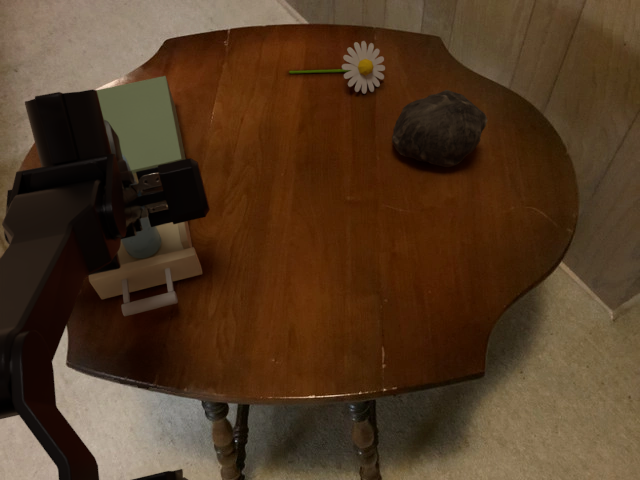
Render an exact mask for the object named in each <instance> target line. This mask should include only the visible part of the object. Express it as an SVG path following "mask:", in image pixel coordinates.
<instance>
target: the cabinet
mask: <svg viewBox="0 0 640 480" xmlns="http://www.w3.org/2000/svg"><path fill="white" fill-rule="evenodd" d="M95 90H96V91H97V94H98V98H99V102H100V106H101V110H102V114H103V118H104V120H106V121H108V122H109V124H110V125H111V127H112V128H113V130H114V131H115V132H116V134H117V135H118V137H119V141H120V148H121V152H122V154H123V155H124V156H125V157H126V159H127V162H128V164H129V166H130V168H131V171H132V173H133V174H134V173H136V172H137V171H142V170H146V169H150V168H155V167H158V165H162V164H167V163H171V162H176V161H180V160H184V159H187V158H186V153H185V148H184V144H183V139H182V133H181V129H180V122H179V118H178V114H177V108H176V105H175V101H174V98H173V95H172V91H171V88H170V84H169V82H168V79H167V76H166V75H163V76H157V77H152V78H147V79H143V80H140V81H134V82H129V83H124V84H120V85H115V86H110V87H105V88H101V89H95Z"/></svg>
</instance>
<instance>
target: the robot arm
mask: <svg viewBox="0 0 640 480" xmlns="http://www.w3.org/2000/svg"><path fill="white" fill-rule="evenodd" d="M96 90H97V89H87V90H82V91H72V92H61V91H57V92H52V93H46V94H40V95H35V96H34V98H33V99H30V100H25V101H24V107H25V109H26V110H25V111H26V113H27V117H28V121H29V125H30V129H31V132H32V137H33V140H34V144H35V148H36V151H37V152H36V153H37V155H38V159H39V160H38V161H39V163H40V166H39V167H34V168H28V169H23V170H17V171H16V172H15V175H14V180H13V185H12V189H8V190H7V194H6V206H5V216H4V218H3V219H2V223H1V226H2V228H3V235H4V239H5V241H6V244H8V246H7V248H6V250H5V251H4V253H3V254H2V255H1V256H0V420H4V419H9V418H14V417H17V416H19V417H20V419H21V420H22V421H23V422H24V424H25V425H26V426H27V428H28V429H29V431H30V432H31V433H32V435H33V437H34V438H35V439H36V440H37V442H38V443H39V445H40V446H41V447H42V448H43V450H44V451H45V453H46V454H47V456H48V457H49V458H50V459H51V461H52V462H53V464H54V465H55V466H56V468H57V474H58V475H57V476H58V480H100V472H99V465H98V463H97V459H96V457H95V456H94V455H93V453H92V452H91V450H90V449H89V447H88V446H87V445H86V444H85V442H84V441H83V440H82V439H81V437H80V436H79V435H78V433H77V432H76V430H75V429H74V428H73V427H72V425H71V423H69V422H68V420H67V419H66V417H65V416H64V414H63V413H62V412H61V411H60V409H59V408H58V406H57V397H56V386H55V384H56V383H55V371H54V366H53V365H54V364H53V361H54V359H55V355H56V353H57V351H58V348H59V345H60V343H61V341H62V338H63V335H64V332H65V330H66V328H67V325H68V322H69V320H70V317H71V315H72V312H73V309H74V307H75V305H76V303H77V301H78V297H79V294H80V293H81V289H82V287H83V285H84V281H85V279H86V278H87V277H88V276H89V275H92V274H97V273H101V272H106V271H111V270H116V269H119V268H120V267H121V265H120V260H119V256H118V250H119V249H120V245H121V239H124V238H128V237H132V236H136V235H137V233H136V232H139V231H142V230H143V229H142V225H141V221H140V219H141V218H146V217H148V218H149V222H150V225H151V227H155V226H159V225H163V224H167V223H171V222H173V224H178V223H182V222H186V221H188V222H189V221H190V222H191V221H193V220H198V219H203V218H206V217H207V215H208V213H209V212H210V210H211V208H210V203H209V200H208V197H207V193H206V188H205V185H204V180H203V177H202V173H201V169H200V166H199V162H198V161H196V160H195V159H193V158H191V157H189V158H186V159H184V160H180V161H176V162H171V163H167V164H162V165H158V167H155V168H150V169H146V170H142V171H137V172H136V175H137V178H138V184H135V185H130V184H134V183H135V181H134V177H133V174H132V171H128V168H127V164H126V161H125V160H123V157H122V152H121V148H120V141H119V137H118V135H117V134H116V132H115V131H114V130H113V128H112V127H111V125H110V124H109V122H108V121H106V120H104V118H103V114H102V110H101V106H100V102H99V98H98V94H97V91H96ZM139 191H140V192H141V196H138V195H137V194H139ZM141 206H144V207H145V208H144V210H143V209H142V208H141ZM167 206H168V207H167ZM131 480H189V479H188V478H186V476H184V470H183V468H180V469H176V470H166V471H161V472H158V473H153V474H150V475H145V476H140V477H137V478H133V479H132V478H131Z"/></svg>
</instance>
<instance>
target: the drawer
mask: <svg viewBox="0 0 640 480" xmlns="http://www.w3.org/2000/svg"><path fill="white" fill-rule="evenodd" d="M133 175H134V177H135V180H136V182H137V184H138V178H137V175H136V173H134V174H133ZM167 207H168V206H167ZM156 227H157V230H158V232H159V234H160V236H161V246H160V248H159V249H158V251H157V252H156V253H154V254H153V255H151V256H149V257H147V258H134V257H132V256H130V255H129V254H128V253H127V251H126V249H125V247H124V245H123V244H122V242H121V245H120V249H119V250H118V256H119V260H120V265H121V267H120V268H119V269H116V270H111V271H106V272H101V273H97V274H92V275H88V282H89V283H90V284H91V286H92V287H93V289H94V291H95V292H96V293H97V295H98V297H99V298H100V299H101V300H105V299H110V298H113V297H118V296H121V295H122V299H123V303H122V304H121V306H120V307H121V312H122V315H123V316H124V317H129V316H132V315H136V314H141V313H144V312H148V311H153V310H156V309H160V308H164V307H167V306H172V305H176V304H178V303H179V300H178V295H177V292H176V291H175V287H174V282H177V281H180V280H185V279H189V278H193V277H196V276H200V275H203V269H202V265H201V262H200V260H199V257H198V255H197V252H196V251H197V250H196V249H195V247H194V246H193V243H192V237H191V232H190V227H189V221H186V222H182V223H178V224H173V222H171V223H167V224H163V225H159V226H156ZM165 284H166V287H167V288H166V289H167V292H166V293H161V294H157V295H153V296H149V297H145V298H141V299H137V300H134V301H131V298H130V296H131V295H130V293H133V292H138V291H141V290H145V289H149V288H153V287H156V286H162V285H165Z"/></svg>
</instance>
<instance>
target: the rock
mask: <svg viewBox="0 0 640 480" xmlns="http://www.w3.org/2000/svg"><path fill="white" fill-rule="evenodd" d="M487 123H488V117H487V114H486V113H485V112H484V111H482V110H481V109H480V107H478V106H476V105H475V104H474V103H473V102H472V101H470V100H469V99H468V98H467V97H466V96H465V95H464V94H462V93H460V92H459V93H458V92H455V91H453V90H452V91H451V90H449V89H444V90H442V91H440V92H438V93H434V94H433V93H432V94H429V95H428V96H426V97H424V98H419V99H416V100H414V101H411V102H409V103H407V104H406V105H404V106H403V108H402V109H401V112H400V114H399V116H398V117H397V119H396V121H395V124H394V126H393V130H392V132H393V133H392V136H391V143H392V145H393V146H394V148H395V150H396V151H397V152H398V154H399V155H401V156H403V157H406V158H413V159H415V160H416V161H420V162H427V163H429V164H431V165H435V166H439V167H444V168H450V167H454V166H457V165H458V164H460V163H461V162H462V161H463V160H464V159H465V157H467V156H469V154H471V153H473V152H474V150H475V149H476V148H477V146H479V144H480V142H481V136H482V133H483V132H484V130H485V129H486V127H487Z"/></svg>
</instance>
